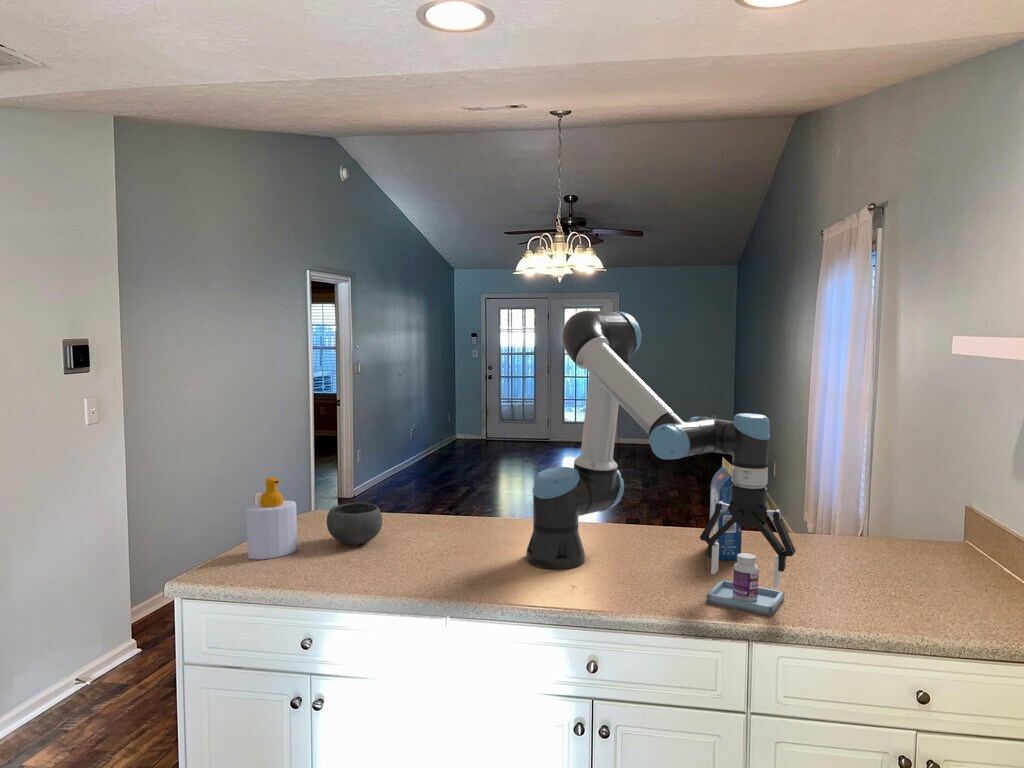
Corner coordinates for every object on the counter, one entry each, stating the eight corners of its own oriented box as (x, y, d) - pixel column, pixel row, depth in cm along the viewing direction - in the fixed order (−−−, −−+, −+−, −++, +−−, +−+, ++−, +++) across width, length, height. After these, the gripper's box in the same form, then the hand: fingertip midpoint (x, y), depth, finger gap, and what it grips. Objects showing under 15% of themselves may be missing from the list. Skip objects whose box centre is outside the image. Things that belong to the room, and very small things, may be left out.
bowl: (356, 532, 215) (355, 498, 214) (392, 541, 206) (392, 506, 205) (315, 544, 203) (315, 509, 202) (352, 554, 194) (352, 517, 193)
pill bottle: (754, 604, 159) (755, 561, 158) (729, 599, 162) (731, 556, 161) (760, 596, 164) (761, 554, 163) (736, 591, 167) (737, 550, 166)
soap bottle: (254, 563, 187) (252, 484, 185) (242, 555, 193) (240, 479, 191) (303, 552, 195) (301, 477, 194) (289, 545, 202) (288, 472, 200)
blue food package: (731, 546, 202) (734, 457, 200) (741, 560, 190) (744, 465, 188) (708, 546, 203) (710, 456, 201) (716, 560, 191) (719, 465, 189)
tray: (706, 601, 162) (706, 594, 162) (721, 586, 171) (721, 579, 171) (771, 615, 155) (772, 607, 154) (783, 599, 164) (784, 591, 164)
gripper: (688, 480, 164) (684, 572, 166) (805, 496, 151) (800, 596, 153) (699, 474, 171) (695, 562, 173) (812, 489, 157) (807, 585, 159)
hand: (744, 578), depth 163 cm, fingers open, 13 cm apart
